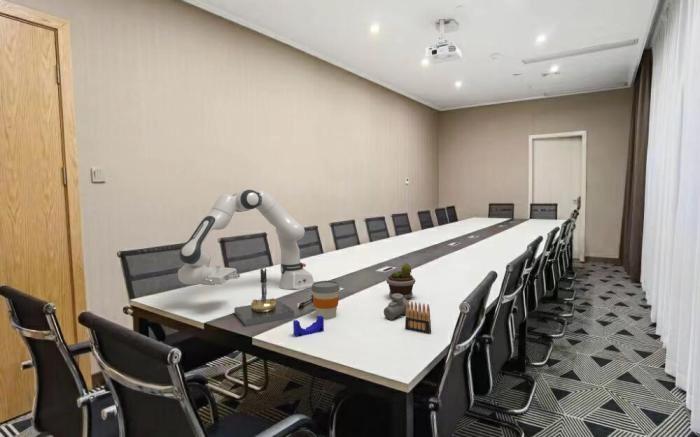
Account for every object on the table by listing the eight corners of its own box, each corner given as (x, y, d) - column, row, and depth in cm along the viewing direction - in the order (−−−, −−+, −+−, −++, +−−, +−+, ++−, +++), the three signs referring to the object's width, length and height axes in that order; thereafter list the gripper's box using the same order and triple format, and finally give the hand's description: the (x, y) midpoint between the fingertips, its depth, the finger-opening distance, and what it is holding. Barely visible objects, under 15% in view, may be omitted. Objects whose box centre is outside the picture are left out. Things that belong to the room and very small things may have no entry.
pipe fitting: (396, 310, 184) (396, 289, 182) (410, 315, 179) (410, 294, 177) (380, 319, 176) (380, 298, 174) (394, 325, 170) (394, 303, 168)
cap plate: (279, 306, 196) (278, 299, 195) (294, 317, 178) (294, 310, 178) (234, 313, 184) (234, 307, 184) (246, 326, 167) (245, 319, 167)
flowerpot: (381, 298, 205) (380, 261, 203) (398, 292, 216) (398, 257, 215) (403, 304, 195) (403, 264, 194) (420, 297, 206) (420, 260, 205)
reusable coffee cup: (329, 322, 171) (328, 288, 169) (306, 317, 177) (306, 285, 176) (345, 314, 181) (344, 282, 180) (323, 310, 188) (322, 279, 187)
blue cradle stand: (319, 328, 164) (318, 314, 164) (323, 331, 160) (323, 317, 160) (292, 334, 158) (291, 319, 158) (296, 337, 154) (296, 322, 154)
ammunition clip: (404, 329, 161) (404, 300, 160) (406, 327, 163) (406, 299, 162) (429, 334, 155) (429, 304, 154) (431, 332, 157) (431, 303, 156)
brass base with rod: (275, 311, 177) (274, 274, 175) (250, 312, 175) (249, 276, 173) (275, 300, 193) (274, 267, 192) (253, 302, 191) (251, 268, 190)
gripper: (201, 274, 181) (230, 274, 180) (219, 265, 202) (245, 265, 201) (201, 287, 182) (230, 287, 181) (220, 277, 202) (246, 278, 201)
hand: (238, 276), depth 191 cm, fingers closed
